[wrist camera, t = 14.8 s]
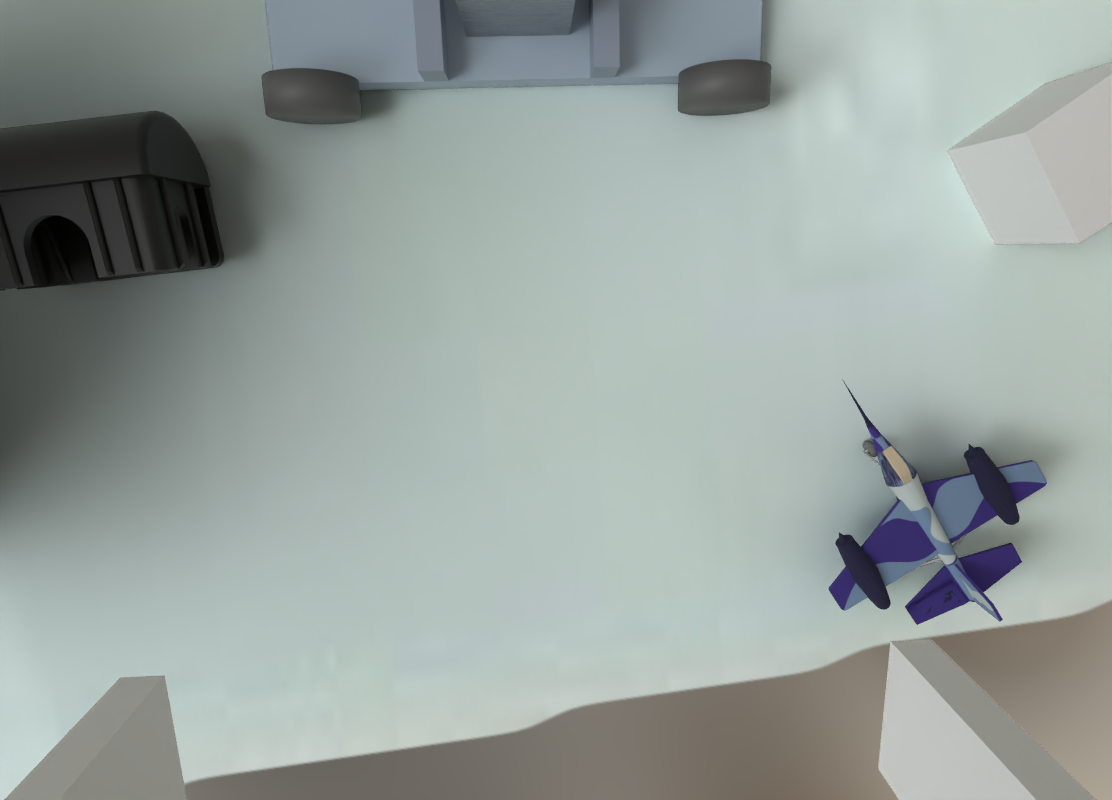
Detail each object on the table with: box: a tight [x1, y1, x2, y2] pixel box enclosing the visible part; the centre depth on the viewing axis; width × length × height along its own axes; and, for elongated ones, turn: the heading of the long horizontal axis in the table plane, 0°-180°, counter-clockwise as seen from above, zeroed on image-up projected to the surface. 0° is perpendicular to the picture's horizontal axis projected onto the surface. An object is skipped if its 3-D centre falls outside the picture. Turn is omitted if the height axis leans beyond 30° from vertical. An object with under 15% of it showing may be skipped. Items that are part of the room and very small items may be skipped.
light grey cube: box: [947, 62, 1112, 244], centre depth 33 cm, size 6×6×6 cm
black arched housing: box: [0, 111, 224, 291], centre depth 32 cm, size 10×7×7 cm
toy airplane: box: [829, 379, 1047, 625], centre depth 39 cm, size 13×14×4 cm
